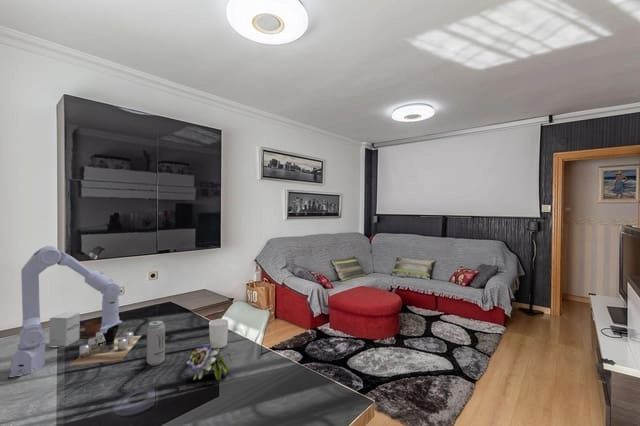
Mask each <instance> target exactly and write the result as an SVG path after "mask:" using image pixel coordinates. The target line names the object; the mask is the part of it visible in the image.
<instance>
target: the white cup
mask: <svg viewBox="0 0 640 426" xmlns="http://www.w3.org/2000/svg"><path fill="white" fill-rule="evenodd" d="M208 326H209V327H208V330H209V331H208V332H209V343H210V342H211V341H213V342H214V345H213V347H212V349H221V348H225V347H227V345H228V335H229V320H228V319H226V318H217V319H212V320H211V321H209V322H208Z"/></svg>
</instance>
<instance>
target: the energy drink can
mask: <svg viewBox="0 0 640 426" xmlns="http://www.w3.org/2000/svg"><path fill="white" fill-rule="evenodd" d="M165 359H166V325H165V324H164V321H163V320H154V321H150V322H149V323H148V326H147V328H146V363H147V364H149V367H154V366H155V367H156V366H159V365H161V364H162V363H164V361H165Z"/></svg>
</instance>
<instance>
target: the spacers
mask: <svg viewBox="0 0 640 426" xmlns="http://www.w3.org/2000/svg"><path fill="white" fill-rule="evenodd" d="M133 336H134V332H133V331H127V332H124V333H123V337H124V338H121V339H119V340H118V351H124V350H127V349H128V344H130V343H133ZM87 340H88V341H87V343H86V344H81V345H80V346H79V356H80V358H86V357H89V356H90V355H91V350H95V349H97V348H98V343H102V342H104V341H105V338H104V335H103V334H102V333H100V331H99V332H97V333H96V337H93V338H87Z"/></svg>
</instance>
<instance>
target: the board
mask: <svg viewBox="0 0 640 426" xmlns="http://www.w3.org/2000/svg"><path fill="white" fill-rule="evenodd" d="M141 337H142V335H133V343H130V344H128V349H127V350H124V351H118V340H119V339H121V338H124V336H120V337H115V340H114V350H112V351H110V352H104V353H101V352H100V346H98V348H97V349H95V350H91V355H90V356H89V357H86V358H80V355H78V357H77V358H76V359H75V360H74V361H73V362H72V363H71V364H69V366H76V365H77V366H78V365H86V364H87V365H88V364H95V363H97V364H98V363H105V362H114V361H122V360H124V359H125V357H126V356H127V355H128V353H129V352H130V350H132V348H133V347H134V346H135V345H136V344H137V342H138V341H139V340H140V338H141Z"/></svg>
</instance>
